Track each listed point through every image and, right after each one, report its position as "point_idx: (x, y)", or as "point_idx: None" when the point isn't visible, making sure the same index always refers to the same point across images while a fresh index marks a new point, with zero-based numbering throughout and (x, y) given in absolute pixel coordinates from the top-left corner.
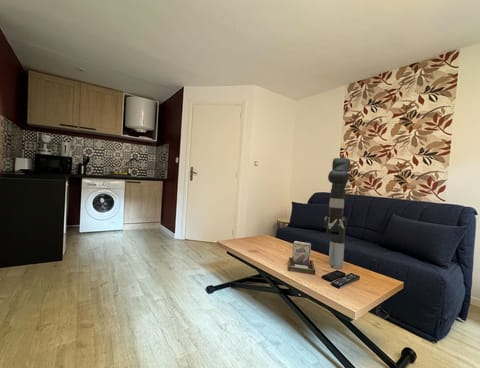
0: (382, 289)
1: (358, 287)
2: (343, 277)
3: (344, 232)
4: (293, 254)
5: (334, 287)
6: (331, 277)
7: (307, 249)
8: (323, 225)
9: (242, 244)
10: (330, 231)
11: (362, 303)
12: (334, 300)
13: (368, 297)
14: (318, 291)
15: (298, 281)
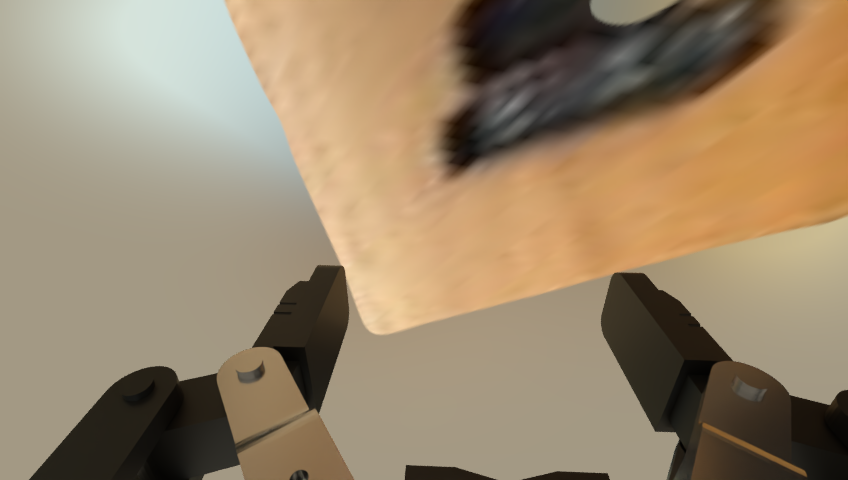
0: (686, 234)
1: (577, 190)
2: (626, 43)
3: None
4: None
5: (437, 163)
6: (535, 25)
7: None
8: (100, 407)
9: None
10: (329, 377)
11: (447, 306)
12: None
13: (523, 277)
14: (315, 184)
15: (255, 43)
